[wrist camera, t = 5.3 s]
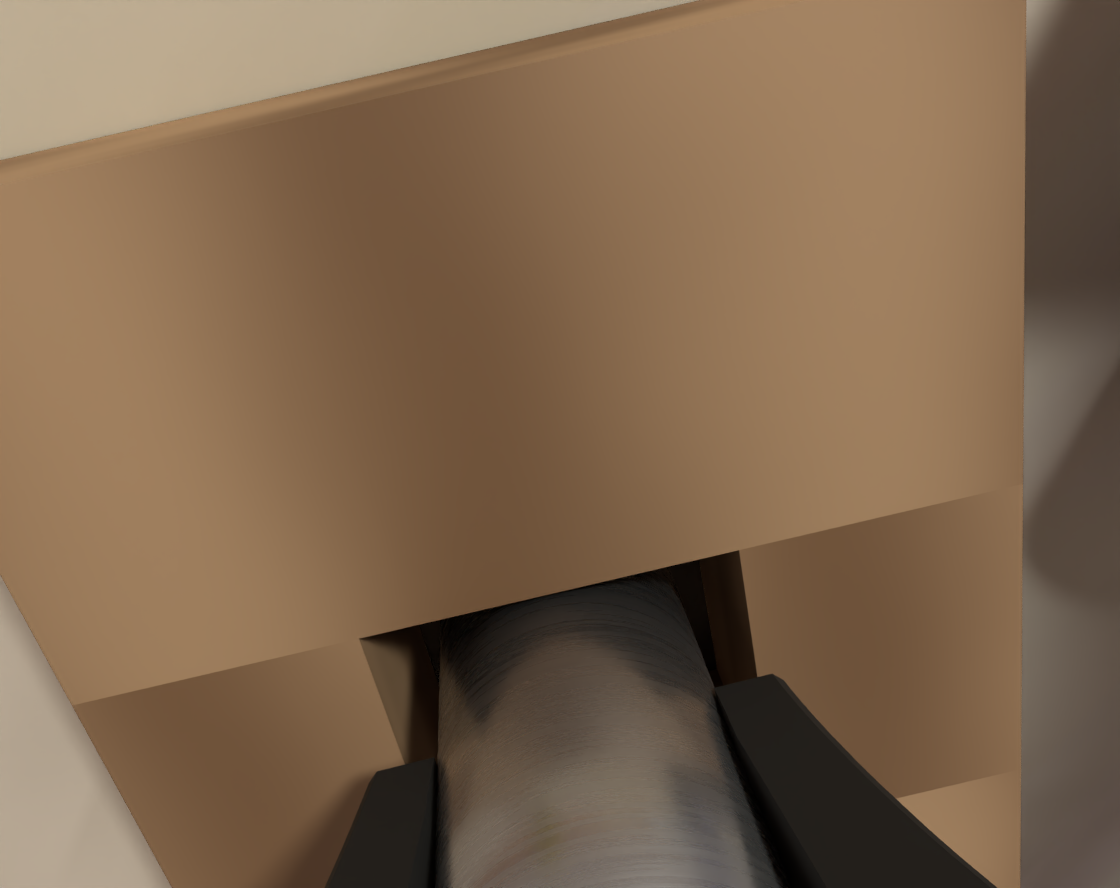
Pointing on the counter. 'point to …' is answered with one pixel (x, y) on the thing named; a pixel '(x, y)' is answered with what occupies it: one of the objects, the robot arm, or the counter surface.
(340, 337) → the hole block
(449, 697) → the pin tall
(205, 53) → the counter surface
